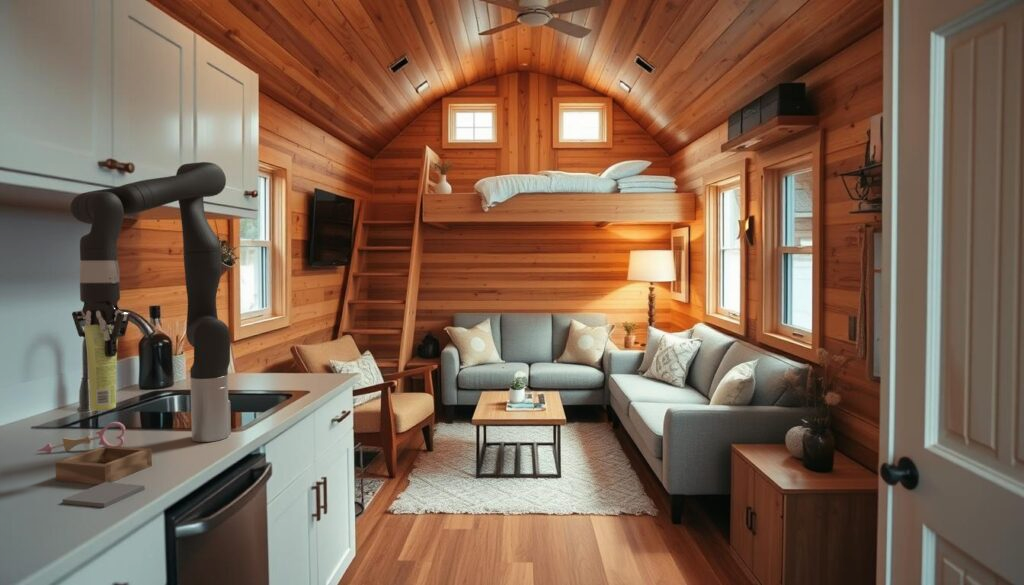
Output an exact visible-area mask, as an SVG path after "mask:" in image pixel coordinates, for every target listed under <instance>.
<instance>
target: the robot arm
mask: <svg viewBox="0 0 1024 585" xmlns="http://www.w3.org/2000/svg"><path fill="white" fill-rule="evenodd" d="M226 184H227V179H226V174H225V173H224V171H223V169H222V168H221V167H220V165H217V164H216V163H213V162H207V161H201V162H199V161H198V162H189V163H184V164H182V165H180V166H179V167H178V169H177V170H176V173H175V175H169V176H164V177H155V178H150V179H143V180H138V181H134V182H130V183H126V184H122V185H119V186H116V187H115V186H114V187H111V188H103V189H96V190H90V191H86V192H82V193H80V194H79V193H78V195H76V196H75V197H74V198H73V199H72V201H71V203H70V212H71V215H72V216H73V218H75V219H76V220H77V221H79V222H81V223H84V224H88V225H90V224H91V228H90V232H88V233H87V234H85V235H83V236H82V237H81V238H80V240H79V260H80V262H79V270H78V272H79V295H80V296H79V298H80V302H82V303H83V305H82V306H83V307H82V309H81V310H77V311H72V313H71V315H72V318H73V322H74V326H75V329H76V331H77V334H78V336H79V337H80V338H81V337H83V338H85V332H84V325H100V327H101V330H102V331H103V332H104V335H105V339H106V340H107V341H105V356H106V357H112V356H115V355H116V353H117V354H118V341H117V339H120V338H122V337H125V336H126V332H127V329H128V326H129V321H130V317H131V312H129V311H122V310H120V307H119V305H118V302H119V301H120V300H121V290H120V289H121V286H120V284H121V283H120V282H121V281H120V268H119V263H118V260H119V259H118V244H117V243H118V240H119V237H120V234H121V230H122V225H123V221H124V215H126V216H127V215H134V214H138V213H142V212H146V211H149V210H152V209H156V208H158V207H162V206H165V205H168V204H171V203H174V202H178V205H179V210H180V220H181V221H180V222H181V232H182V246H183V247H182V249H183V250H182V252H183V266H184V278H185V289H186V298H187V311H186V312H187V313H186V327H185V328H186V329H185V336H186V339H187V342H188V343H189V345H190V346H191V347H192V348H193V362H192V365H191V367H190V369H189V370H190V371H189V375H190V409H191V410H190V412H191V413H190V414H191V418H190V421H191V440H192V441H193V442H198V443H207V442H215V441H220V440H224V439H227V438H228V437H230V435H231V434H232V425H231V424H232V422H231V421H232V419H231V418H232V417H231V401H230V400H229V380H228V378H229V377H228V375H229V374H228V373H229V372H228V370H229V366H230V362H231V334H230V333H231V332H230V330H229V326H228V325H227V324H226V323H225V322H224V321H222V320H220V319H219V318H218V309H217V308H218V307H217V295H218V293H217V292H218V290H219V284H220V281H221V276H222V269H223V268H222V266H223V265H222V264H223V263H222V262H223V260H222V248H221V243H220V241H219V239H218V237H217V235H216V233H215V232H214V230H213V228H212V227H211V225H210V223H209V221H208V220H207V217H206V213H205V212H206V211H205V204H204V198H210V197H214V196H217V195H219V194H221V193H222V192H223V190H224V189H225V187H226ZM107 325H111V326H107ZM110 330H111V333H112V334H110ZM85 340H86V338H85Z"/></svg>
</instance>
